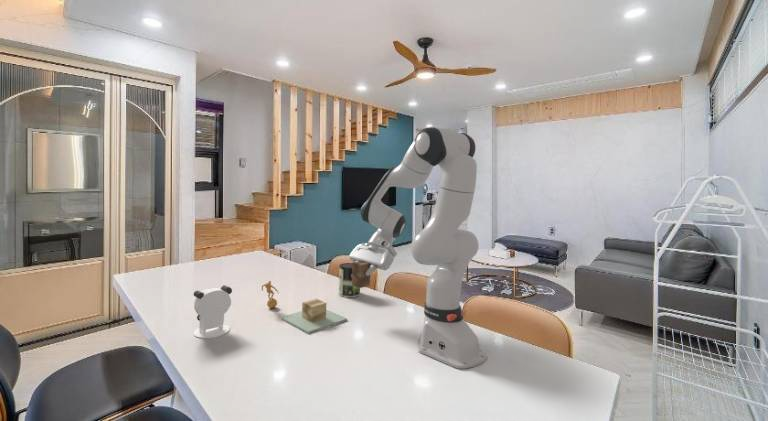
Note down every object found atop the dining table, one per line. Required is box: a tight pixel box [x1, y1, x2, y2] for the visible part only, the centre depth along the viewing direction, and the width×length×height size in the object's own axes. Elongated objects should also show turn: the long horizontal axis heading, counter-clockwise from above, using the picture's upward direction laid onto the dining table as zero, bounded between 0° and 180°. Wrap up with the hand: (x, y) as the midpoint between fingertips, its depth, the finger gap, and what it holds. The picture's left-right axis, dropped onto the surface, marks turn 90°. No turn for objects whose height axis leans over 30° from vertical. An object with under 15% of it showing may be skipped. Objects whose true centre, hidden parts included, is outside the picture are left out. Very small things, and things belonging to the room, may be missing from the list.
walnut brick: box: [351, 261, 371, 289], centre depth 138 cm, size 5×5×9 cm
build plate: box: [280, 309, 348, 335], centre depth 136 cm, size 18×18×1 cm
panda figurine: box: [193, 285, 233, 340], centre depth 122 cm, size 12×11×15 cm
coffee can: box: [338, 262, 361, 299], centre depth 168 cm, size 10×10×14 cm
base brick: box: [301, 298, 327, 322], centre depth 136 cm, size 6×6×6 cm
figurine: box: [261, 280, 280, 309], centre depth 145 cm, size 8×6×12 cm
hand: (360, 273), depth 137 cm, fingers closed on walnut brick, 5 cm apart
